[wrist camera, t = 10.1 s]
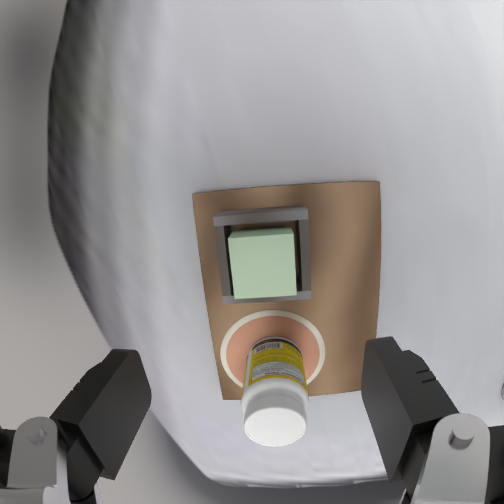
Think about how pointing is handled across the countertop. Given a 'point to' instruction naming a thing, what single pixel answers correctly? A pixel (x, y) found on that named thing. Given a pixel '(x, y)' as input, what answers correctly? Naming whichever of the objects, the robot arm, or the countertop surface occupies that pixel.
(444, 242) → the countertop surface
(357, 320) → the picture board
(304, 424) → the supplement bottle
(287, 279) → the button
